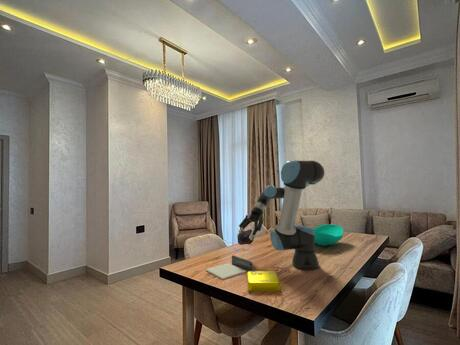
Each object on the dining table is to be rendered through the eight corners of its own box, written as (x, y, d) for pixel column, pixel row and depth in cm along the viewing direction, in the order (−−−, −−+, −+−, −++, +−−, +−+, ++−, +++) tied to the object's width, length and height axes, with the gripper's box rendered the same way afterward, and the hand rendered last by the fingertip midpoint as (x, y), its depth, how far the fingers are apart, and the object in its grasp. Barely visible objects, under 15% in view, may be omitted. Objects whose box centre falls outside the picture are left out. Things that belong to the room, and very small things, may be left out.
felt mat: (246, 272, 130) (246, 270, 131) (222, 279, 121) (222, 278, 121) (227, 264, 144) (227, 263, 144) (205, 270, 134) (205, 269, 134)
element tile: (248, 292, 107) (247, 281, 107) (247, 279, 122) (246, 269, 122) (281, 292, 106) (280, 281, 107) (275, 279, 121) (275, 269, 122)
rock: (236, 245, 150) (247, 248, 142) (234, 232, 150) (244, 234, 142) (249, 240, 157) (260, 242, 150) (247, 227, 157) (257, 229, 150)
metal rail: (252, 270, 133) (252, 261, 133) (249, 271, 132) (249, 262, 132) (234, 263, 146) (233, 254, 147) (231, 263, 145) (231, 255, 145)
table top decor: (320, 237, 208) (319, 222, 209) (352, 243, 187) (351, 226, 188) (293, 245, 183) (293, 228, 184) (327, 253, 162) (326, 234, 163)
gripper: (274, 214, 154) (261, 244, 142) (248, 212, 169) (234, 239, 156) (269, 207, 151) (255, 236, 138) (243, 206, 165) (228, 232, 153)
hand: (244, 238), depth 147 cm, fingers closed on rock, 9 cm apart
